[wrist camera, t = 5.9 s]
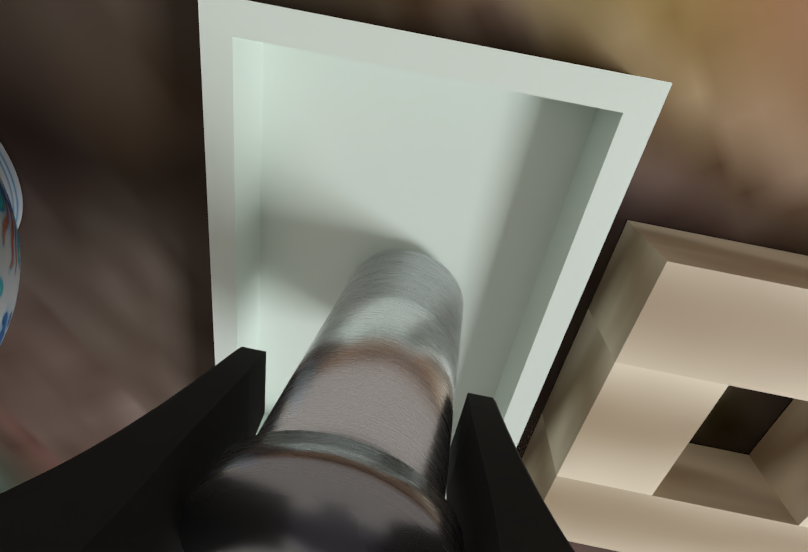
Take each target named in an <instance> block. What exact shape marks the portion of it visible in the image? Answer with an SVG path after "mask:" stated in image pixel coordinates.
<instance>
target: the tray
mask: <svg viewBox="0 0 808 552" xmlns="http://www.w3.org/2000/svg"><path fill="white" fill-rule="evenodd" d="M198 12H199V34H200V55H201V76H202V97H203V118H204V139H205V161H206V182H207V203H208V224H209V245H210V266H211V287H212V309H213V330H214V351H215V365H217V364H218V363H219V362H221V361H222V360H223V359H225V358H226V357H227V356H229V355H230V354H231V353H233V352H234V351H236V350H237V349H238V348H240V347H246V348H251V349H256V350H261V351H266V381H265V413H264V416H263V418H262V421H261V423H260V426H259V428H258V431H257V433H256V435H257V434H258V432H259V430H260V429H261V427H262V425H263V424H264V422H265V420H266V419H267V417H268V415H269V414H270V412H271V410H272V409H273V407H274V405H275V404H276V402H277V400H278V399H279V397H280V395H281V394H282V392H283V390H284V389H285V387H286V385H287V384H288V382H289V380H290V379H291V377H292V375H293V374H294V372H295V370H296V369H297V367H298V365H299V363H300V362H301V360H302V358H303V357H304V355H305V353H306V352H307V350H308V348H309V347H310V345H311V343H312V342H313V340H314V338H315V337H316V335H317V333H318V332H319V330H320V328H321V327H322V325H323V323H324V322H325V320H326V318H327V317H328V315H329V313H330V312H331V310H332V308H333V307H334V305H335V303H336V302H337V300H338V298H339V297H340V295H341V293H342V292H343V290H344V288H345V287H346V285H347V283H348V282H349V280H350V278H351V277H352V275H353V273H354V272H355V270H356V269H357V268H358V267H359V266H360V265H361V264H362V263H363V262H364V261H365V260H367V259H368V258H370V257H372V256H373V255H375V254H378V253H381V252H384V251H389V250H410V251H416V252H419V253H423V254H425V255H427V256H430V257H432V258H433V259H435V260H437V261H438V262H440V263H441V264H442V265H444V266H445V267H446V268H447V269H448V270H449V271H450V272H451V274H452V275H453V276H454V278H455V279H456V281H457V282H458V284H459V287H460V289H461V292H462V296H463V303H464V307H463V320H462V330H461V340H460V351H459V361H458V372H457V382H456V392H455V403H454V413H453V424H452V434H451V443H452V440H453V437H454V434H455V431H456V428H457V425H458V422H459V418H460V415H461V412H462V409H463V406H464V403H465V400H466V397H467V394H468V393H472V394H477V395H482V396H487V397H492V398H493V399H494V400H495V401H496V403H497V406H498V408H499V411H500V413H501V415H502V418H503V420H504V422H505V424H506V427H507V429H508V431H509V433H510V436H511V438H512V440H513V442H514V444H515V446H516V448H517V445H518V443H519V441H520V438H521V436H522V434H523V431H524V429H525V427H526V424H527V422H528V419H529V417H530V415H531V412H532V410H533V408H534V405H535V403H536V401H537V398H538V396H539V394H540V391H541V389H542V387H543V384H544V382H545V380H546V377H547V375H548V373H549V370H550V368H551V366H552V363H553V361H554V359H555V356H556V354H557V352H558V349H559V347H560V345H561V342H562V340H563V338H564V335H565V333H566V331H567V328H568V326H569V324H570V321H571V319H572V317H573V314H574V312H575V310H576V307H577V305H578V303H579V300H580V298H581V296H582V293H583V291H584V289H585V286H586V284H587V282H588V279H589V277H590V275H591V272H592V270H593V268H594V265H595V263H596V261H597V258H598V256H599V254H600V251H601V249H602V246H603V244H604V242H605V239H606V237H607V235H608V232H609V230H610V228H611V225H612V223H613V221H614V218H615V216H616V214H617V211H618V209H619V207H620V204H621V202H622V200H623V197H624V195H625V193H626V190H627V188H628V186H629V183H630V181H631V179H632V176H633V174H634V172H635V169H636V167H637V165H638V162H639V160H640V158H641V155H642V153H643V151H644V148H645V146H646V144H647V141H648V139H649V137H650V134H651V132H652V130H653V127H654V125H655V123H656V120H657V118H658V116H659V113H660V111H661V109H662V106H663V104H664V102H665V99H666V97H667V95H668V92H669V90H670V88H671V85H672V83H670V82H665V81H659V80H654V79H649V78H644V77H639V76H634V75H629V74H624V73H618V72H613V71H608V70H603V69H598V68H593V67H588V66H582V65H577V64H572V63H567V62H562V61H557V60H552V59H547V58H541V57H536V56H531V55H526V54H521V53H516V52H511V51H505V50H500V49H495V48H490V47H485V46H480V45H475V44H469V43H464V42H459V41H454V40H449V39H444V38H439V37H434V36H428V35H423V34H418V33H413V32H408V31H403V30H398V29H392V28H387V27H382V26H377V25H372V24H367V23H362V22H356V21H351V20H346V19H341V18H336V17H331V16H326V15H321V14H315V13H310V12H305V11H300V10H295V9H290V8H285V7H279V6H274V5H269V4H264V3H259V2H254V1H249V0H198ZM450 446H451V444H450ZM446 487H447V486H446ZM445 499H446V496H445Z"/></svg>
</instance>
